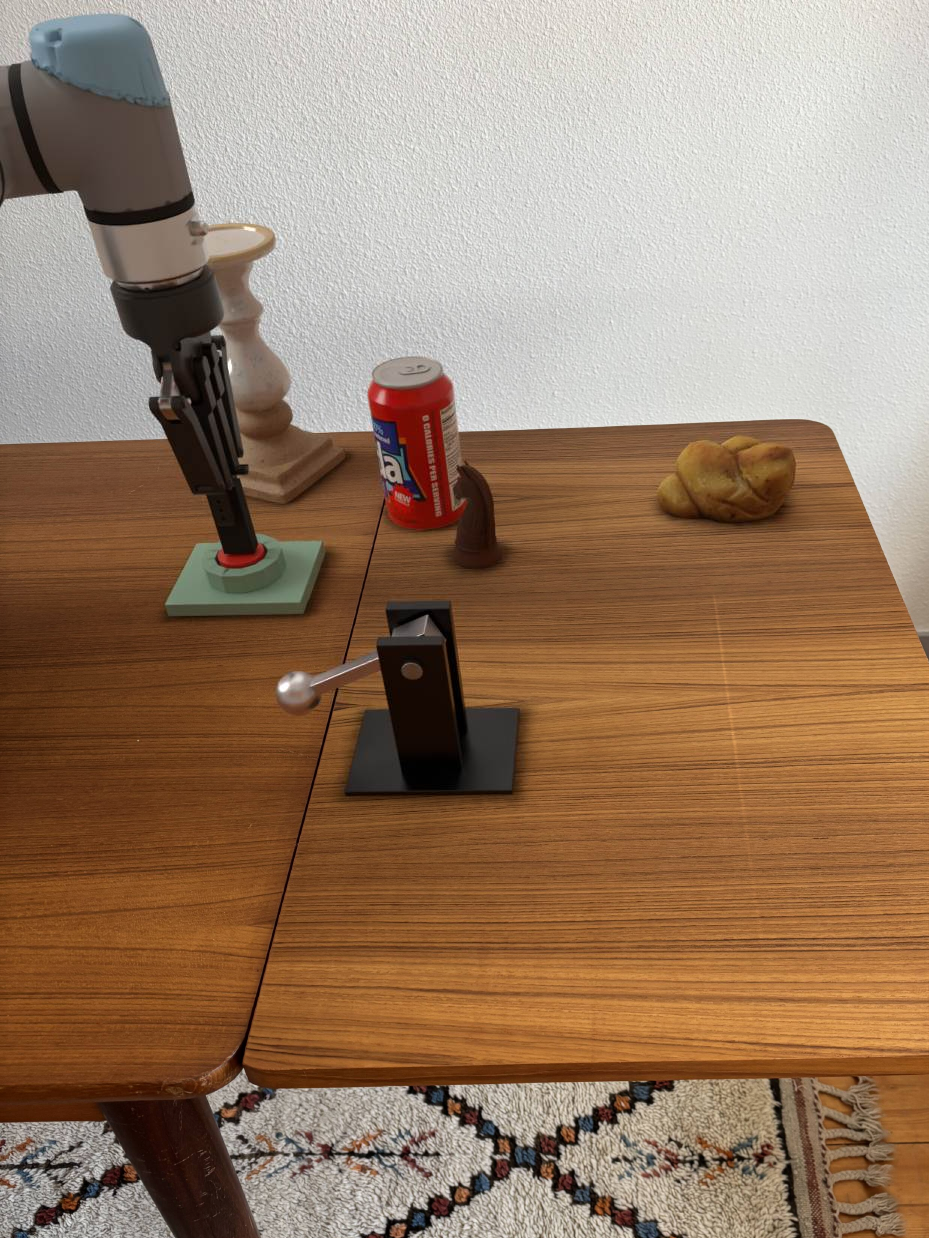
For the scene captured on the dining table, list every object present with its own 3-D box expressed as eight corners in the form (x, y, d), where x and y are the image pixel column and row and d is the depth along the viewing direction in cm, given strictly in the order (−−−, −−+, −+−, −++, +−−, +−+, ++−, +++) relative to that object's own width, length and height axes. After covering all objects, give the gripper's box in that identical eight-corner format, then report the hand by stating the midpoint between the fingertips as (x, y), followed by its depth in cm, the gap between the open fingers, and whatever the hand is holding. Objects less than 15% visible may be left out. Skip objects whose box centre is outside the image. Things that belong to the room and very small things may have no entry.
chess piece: (480, 544, 100) (469, 447, 94) (516, 564, 98) (508, 465, 91) (443, 564, 98) (430, 467, 91) (480, 585, 95) (469, 485, 89)
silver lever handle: (289, 731, 75) (261, 700, 73) (299, 701, 77) (271, 671, 75) (445, 668, 70) (419, 633, 68) (450, 639, 73) (425, 605, 71)
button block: (171, 625, 93) (157, 587, 90) (203, 562, 100) (191, 526, 97) (305, 622, 92) (295, 584, 90) (327, 560, 100) (318, 523, 97)
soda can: (474, 529, 102) (457, 380, 92) (394, 543, 101) (368, 393, 91) (460, 491, 108) (443, 346, 98) (384, 503, 107) (359, 358, 97)
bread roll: (656, 534, 101) (658, 457, 95) (656, 483, 108) (657, 409, 102) (792, 533, 100) (802, 456, 94) (783, 483, 107) (791, 407, 101)
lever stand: (347, 805, 76) (311, 665, 67) (367, 722, 82) (337, 585, 73) (513, 804, 75) (499, 662, 66) (520, 720, 82) (508, 582, 73)
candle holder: (268, 445, 117) (211, 215, 101) (349, 463, 114) (303, 227, 97) (203, 491, 110) (130, 251, 94) (287, 512, 106) (227, 265, 90)
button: (217, 581, 93) (212, 564, 92) (229, 556, 96) (224, 539, 95) (262, 580, 93) (257, 563, 92) (272, 555, 96) (267, 539, 95)
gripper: (184, 303, 72) (265, 590, 88) (233, 240, 82) (298, 510, 98) (78, 307, 72) (178, 591, 89) (138, 244, 82) (219, 512, 98)
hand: (241, 548), depth 93 cm, fingers closed
